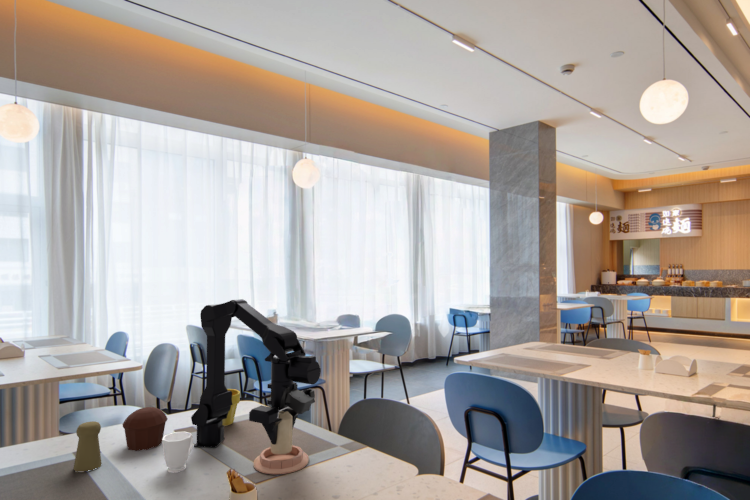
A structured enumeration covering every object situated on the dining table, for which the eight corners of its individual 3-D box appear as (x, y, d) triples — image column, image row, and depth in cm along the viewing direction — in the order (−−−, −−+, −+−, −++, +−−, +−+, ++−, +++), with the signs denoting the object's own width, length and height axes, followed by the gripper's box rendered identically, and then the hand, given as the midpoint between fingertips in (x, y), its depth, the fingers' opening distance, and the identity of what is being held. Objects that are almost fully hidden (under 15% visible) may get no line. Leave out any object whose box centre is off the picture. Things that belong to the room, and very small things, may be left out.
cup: (154, 474, 109) (155, 440, 109) (179, 457, 119) (180, 426, 119) (180, 476, 108) (181, 442, 108) (203, 459, 117) (204, 427, 118)
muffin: (143, 455, 120) (143, 417, 120) (111, 450, 123) (112, 413, 124) (175, 439, 131) (176, 405, 131) (146, 435, 135) (147, 401, 135)
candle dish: (245, 473, 109) (245, 463, 109) (263, 450, 123) (263, 441, 123) (302, 475, 108) (302, 465, 108) (313, 451, 122) (313, 442, 122)
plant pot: (246, 420, 148) (246, 390, 149) (225, 430, 138) (225, 398, 139) (220, 416, 152) (221, 387, 152) (198, 426, 142) (199, 395, 143)
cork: (107, 464, 114) (108, 420, 115) (85, 474, 109) (86, 428, 109) (89, 460, 116) (91, 417, 117) (67, 470, 111) (68, 425, 111)
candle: (294, 446, 118) (295, 408, 119) (288, 455, 113) (289, 415, 113) (274, 445, 119) (274, 407, 119) (267, 454, 113) (268, 414, 114)
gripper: (284, 392, 105) (283, 460, 104) (327, 375, 121) (327, 433, 121) (248, 386, 110) (246, 451, 109) (294, 371, 126) (293, 427, 126)
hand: (281, 440), depth 116 cm, fingers closed on candle, 5 cm apart
